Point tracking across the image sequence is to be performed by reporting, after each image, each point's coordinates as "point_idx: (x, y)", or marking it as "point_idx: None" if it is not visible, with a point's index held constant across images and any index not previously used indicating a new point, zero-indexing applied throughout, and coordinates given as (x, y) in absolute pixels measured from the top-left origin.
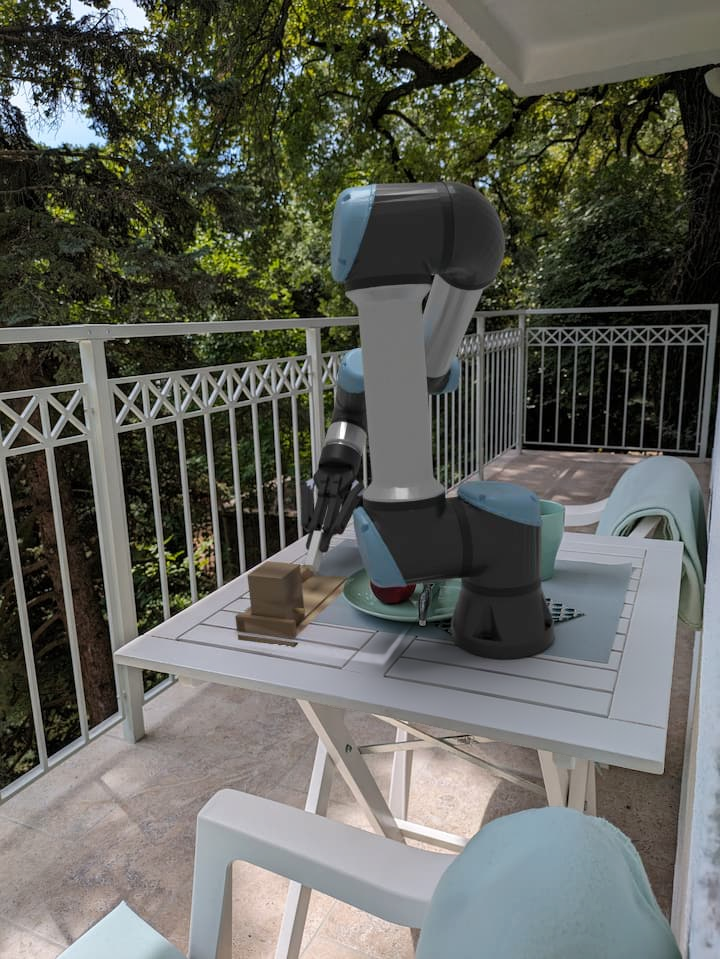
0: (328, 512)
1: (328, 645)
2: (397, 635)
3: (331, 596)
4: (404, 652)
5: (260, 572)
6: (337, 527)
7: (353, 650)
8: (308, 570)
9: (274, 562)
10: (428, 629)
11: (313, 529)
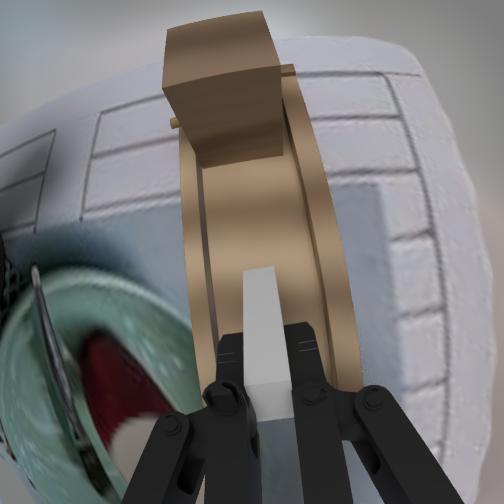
0: (236, 498)
1: (135, 143)
2: (54, 220)
3: (200, 282)
4: (41, 183)
5: (240, 24)
6: (161, 416)
7: (97, 151)
8: (334, 370)
9: (248, 66)
10: (26, 258)
11: (299, 388)
